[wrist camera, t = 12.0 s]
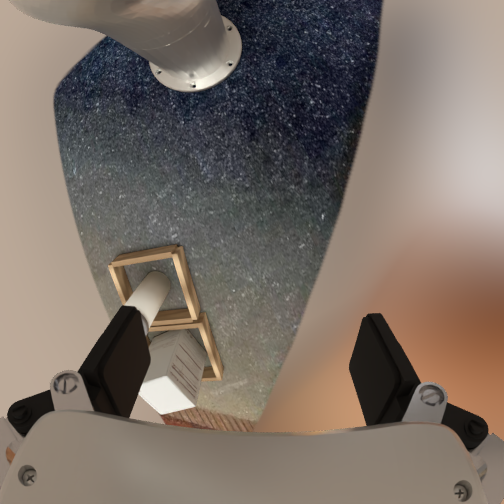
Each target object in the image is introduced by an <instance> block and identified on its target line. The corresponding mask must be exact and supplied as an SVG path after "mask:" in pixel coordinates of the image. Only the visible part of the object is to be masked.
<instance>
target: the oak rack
mask: <svg viewBox="0 0 504 504" xmlns="http://www.w3.org/2000/svg"><path fill="white" fill-rule="evenodd" d="M171 257H173V261H174V264H175V267H176V271H177V274H178V277H179V281H180V284H181V287H182V290H183V293H184V296H185V300H186V303H187V306H188V308H186V309H177V310H167V311H158V313H157V315H156V316H155V318H154V320H153V322H152V324H151V326H150V328H149V331H148V332H151V331H165V330H178V329H189V328H199V330H200V333H201V336H202V339H203V342H204V345H205V347H206V350H207V353H208V356H209V359H210V361H211V364H212V367H204V370H203V375H202V379H201V381H219V380H222V377H223V370H224V368H223V365H222V362H221V359H220V356H219V353H218V350H217V347H216V344H215V341H214V338H213V335H212V332H211V329H210V325H209V322H208V319H207V316H206V313H205V312H203V313H200V310H201V308H200V305H199V302H198V299H197V295H196V292H195V288H194V285H193V282H192V278H191V275H190V271H189V268H188V264H187V261H186V257H185V253H184V250H183V246H180V247H177V244H176V245H170V246H165V247H159V248H154V249H148V250H143V251H137V252H132V253H127V254H121V255H119V256H118V257H117V258H115V259H114V260H113V261H112V262H111V263H110V264H109V265H108V267H109V270H110V273H111V275H112V278H113V281H114V283H115V286H116V289H117V291H118V294H119V296H120V299H121V301H122V304H123V305H125V303H126V302H127V301H128V299H129V298H130V297H131V295H132V294H133V292H132V289H131V286H130V283H129V281H128V278H127V275H126V272H125V270H124V267H123V265H129V264H135V263H141V262H147V261H153V260H159V259H165V258H171ZM146 340H147V344H148V348H149V346H150V344H151V342H150V340H149V338H148V336H147V335H146Z"/></svg>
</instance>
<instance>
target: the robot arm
mask: <svg viewBox="0 0 504 504" xmlns="http://www.w3.org/2000/svg"><path fill="white" fill-rule="evenodd" d="M9 1H10V3H11V4H13V5H14V6H15V7H16V8H17V9H18V10H20V11H21V12H23V13H24V14H26V15H28V16H31V17H33V18H35V19H38V20H42V21H45V22H48V23H53V24H58V25H64V26H73V27H80V28H87V29H92V30H95V31H98V32H100V33H103V34H105V35H107V36H109V37H111V38H113V39H114V40H116V41H118V42H120V43H121V44H123V45H124V46H126V47H128V48H129V49H131V50H132V51H134V52H136V53H137V54H139V55H140V56H142V57H144V58H145V59H147V60H148V61H149V65H150V68H151V71H152V72H153V74H154V76H155V77H156V78H157V79H158V80H159V82H161V83H162V84H164V85H165V86H166V87H168V88H171V89H173V90H176V91H179V92H199V91H204V90H207V89H210V88H212V87H215V86H216V85H218V84H220V83H221V82H223V81H224V80H225V79H226V78H227V77H229V76H230V74H231V73H232V72H233V71H234V70H235V68H236V66H237V64H238V63H239V60H240V57H241V53H242V42H241V37H240V34H239V32H238V30H237V28H236V27H235V25H234V24H233V23H232V22H231V21H230V20H228V19H227V18H226V17H224V16H222V15H221V14H220V11H219V8H218V5H217V2H216V0H9ZM229 29H232V30H231V31H228V30H229ZM229 64H232V66H229ZM161 71H162V72H161ZM159 72H161V73H160V74H159ZM194 85H196V88H193V86H194ZM150 363H151V356H150V352H149V348H148V344H147V340H146V335H145V331H144V326H143V322H142V317H141V313H140V311H139V310H137V308H136V307H135V306H126V305H123V306H121V308H120V309H119V311H118V312H117V313H116V315H115V316H114V318H113V319H112V321H111V322H110V324H109V325H108V327H107V328H106V330H105V331H104V333H103V334H102V335H101V336H100V338H99V339H98V341H97V342H96V344H95V345H94V347H93V348H92V350H91V352H90V353H89V355H88V356H87V358H86V359H85V361H84V362H83V364H82V366H81V367H80V369H79V370H78V372H76V371H72V370H66V371H62V372H60V373H58V374H56V375H55V376H54V377H53V379H52V380H51V383H50V390H47V391H45V392H42V393H39V394H36V395H34V396H31V397H28V398H25V399H22V400H19V401H17V402H15V403H14V404H13V405H11V407H10V408H9V410H8V413H7V416H8V417H7V418H6V419H5V418H4V417H2V418H0V504H500V503H501V502H502V500H503V499H504V441H503V440H501V439H500V438H499V437H498V436H496V435H495V434H494V433H492V434H491V435H489V433H488V425H487V423H486V422H485V420H484V419H483V418H481V417H479V416H477V415H475V414H473V413H470V412H468V411H466V410H463V409H461V408H459V407H457V406H454V405H452V404H450V403H447V399H448V396H447V393H446V392H445V390H444V388H443V387H441V386H440V385H438V384H436V383H433V382H424V383H421V382H420V380H419V378H418V376H417V374H416V372H415V371H414V369H413V367H412V365H411V363H410V361H409V359H408V358H407V356H406V354H405V352H404V351H403V349H402V347H401V345H400V344H399V343H398V341H397V340H396V338H395V336H394V334H393V333H392V331H391V329H390V328H389V326H388V324H387V323H386V321H385V319H384V318H383V316H382V314H380V313H372V314H367V316H366V317H363V319H362V322H361V326H360V330H359V333H358V337H357V340H356V344H355V347H354V350H353V354H352V357H351V360H350V364H349V370H350V373H351V377H352V380H353V383H354V386H355V389H356V392H357V395H358V399H359V402H360V405H361V409H362V412H363V415H364V418H365V421H366V425H367V426H364V427H355V428H345V429H336V430H324V431H309V432H281V433H279V432H277V433H264V432H263V433H262V432H260V433H259V432H233V431H217V430H206V429H196V428H187V427H179V426H172V425H164V424H158V423H152V422H147V421H141V420H136V419H130V418H129V417H130V414H131V411H132V409H133V406H134V404H135V401H136V399H137V396H138V393H139V391H140V388H141V386H142V383H143V381H144V378H145V376H146V373H147V371H148V368H149V366H150Z"/></svg>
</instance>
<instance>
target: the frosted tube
mask: <svg viewBox="0 0 504 504" xmlns="http://www.w3.org/2000/svg"><path fill="white" fill-rule="evenodd" d="M170 289H171V283H170V280H169V279H168V277H167V276H166V275H165V274H163V273H161V272H159V271H152V272H150V273H148V274H147V276H146V277H145V278H144V279H143V281H142V282H141V283H140V285H139V286H138V287H137V289H136V290H135V291H134V293H133V294H132V295H131V297H130V298H129V299H128V301H127V302H126V303H125V305H126V306H135V307H136V308H137V310H139V311H140V313H141V317H142V322H143V326H144V331H145V335H147V333H148V331H149V328H150V326H151V324H152V322H153V320H154V318H155V316H156V315H157V313H158V311H159V309H160V307H161V305H162V304H163V302H164V300H165V298H166V296H167V295H168V293H169V291H170Z"/></svg>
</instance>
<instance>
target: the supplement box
mask: <svg viewBox="0 0 504 504" xmlns="http://www.w3.org/2000/svg"><path fill="white" fill-rule="evenodd" d="M149 352H150V356H151V363H150V366H149V368H148V371H147V373H146V376H145V378H144V381H143V383H142V386H141V388H140V391H139V393H138V394H139V395H140V396H141V397H142V398H143V399H144V400H145V401H146V402H147V403H148V404H150V405H151V406H152V407H153V408H154V409H155V410H156V411H157V412H159V413H160V414H166V413H170V412H175V411H179V410H183V409H187V408H191V407H195V406H196V403H197V398H198V393H199V389H200V384H201V379H202V375H203V370H204V365H205V361H206V356H207V353H206V351H205V350H204V349H203V348H202V347H201V345H200V344H199V343H198V342H197V340H196V339H195V338H194V337H193V335H192V334H191V333H190V332H189V330H188V329H178V330H170V331H168V332H165V333H163V334H161V335H158V336H156V337H154V338H153V340H152V342H151V344H150V346H149Z"/></svg>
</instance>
